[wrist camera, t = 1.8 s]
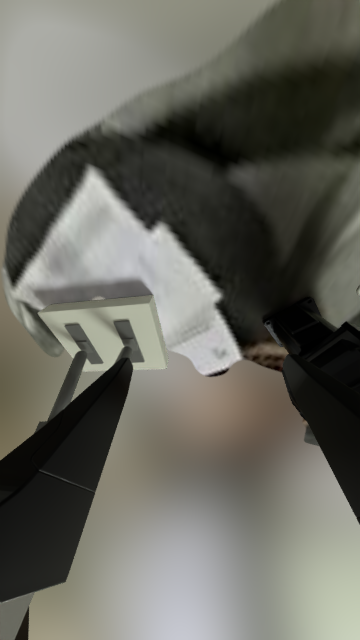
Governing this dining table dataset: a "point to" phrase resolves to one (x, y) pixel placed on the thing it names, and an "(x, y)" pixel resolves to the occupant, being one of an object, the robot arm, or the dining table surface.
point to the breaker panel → (105, 337)
